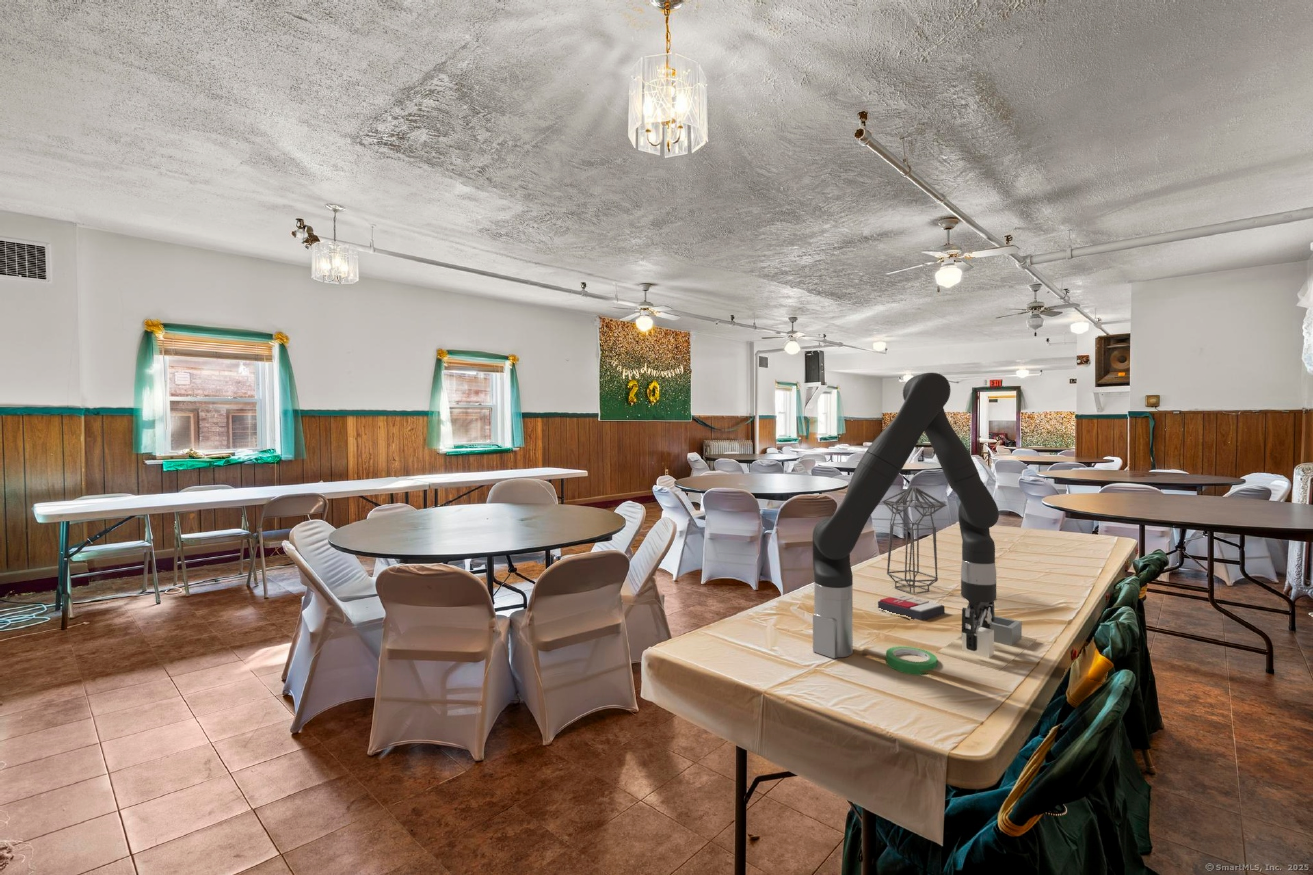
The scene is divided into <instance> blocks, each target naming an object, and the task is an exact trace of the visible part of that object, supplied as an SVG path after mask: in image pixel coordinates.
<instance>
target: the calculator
mask: <svg viewBox="0 0 1313 875" xmlns="http://www.w3.org/2000/svg"><path fill="white" fill-rule="evenodd" d="M877 608H881V609H883V610H887V611H889V612H892V613H896V614H900V615H906V616H908V617H911V619H913V620H912V621H914V620H915V619H916V620H919V621H922V622H923V621H927V620H929V619H932V618H936V617H939V616H943V615H945V614H946V613H945V612H946V611H945V605H943V604H941V603H937V602H933V601H930V600H926V599H923V598H918V597H913V596H909V595H905V594H898V595H893V596H889V597H886V598H885V597H884V598H880V600H878V601H877Z"/></svg>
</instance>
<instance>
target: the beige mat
mask: <svg viewBox="0 0 1313 875" xmlns="http://www.w3.org/2000/svg"><path fill="white" fill-rule="evenodd" d="M1036 641H1037V638H1034V637H1033V638H1032V637H1028V636H1024V635H1022V639H1021V640H1019V641H1018V642H1017V643H1015V644H1014V645H1013V646H1008V645H1004V644H1000V643H996V642H994V655H993V656H991V657H990V658H986V657H982V656H978V655H975V654H971V653H967V652H964V651H962V635H961V636H960V637H958V638H956V639H955V640H953V641H952V642H950V643H949V644H947V645H945V646H944V647H942V648H941V649H939V650H938V651H936V652H935V653H936V654H940V655H944V656H947V657H950V658H954V659H958V660H961V661H965V662H968V663H972V664H976V665H978V666H981V667H985V668H988V669H992V670H996V671H998V672H999V671H1001V670H1002V669H1003V668H1004V667H1005V666H1007V665H1008V664H1009V663H1011V662H1012V661H1013V660H1014V659H1015V658H1016V657H1018V656H1019V655H1020V654H1021V653H1022V652H1023V651H1025V650H1026V649H1027V648H1028V647H1030V646H1031V645H1033V643H1034V642H1036Z"/></svg>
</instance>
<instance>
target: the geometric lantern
mask: <svg viewBox="0 0 1313 875" xmlns="http://www.w3.org/2000/svg"><path fill="white" fill-rule="evenodd" d="M900 495H901V496H900ZM897 496H900V497H898V498H896V497H897ZM913 496H914V498H913ZM919 497H920V498H919ZM893 498H896V500H895V501H893V500H892V501H890V500H891V499H893ZM929 498H930V499H931V500H933V501H934V502H937V503H933V502H932V501H931V500H930V499H929ZM908 499H909V500H908ZM920 499H921V500H920ZM913 502H914V505H913V506H912V505H911V504H912V503H913ZM916 502H917V503H918V504H917V505H916ZM881 503H883V504H884V505H885V506H886V507H887V509H888V510H890V512H891V518H890V522H889V536H888V537H889V538H888V551H887V552H888V554H887V568H886V570H887V571H886V575H887V576H889V578H891V580H892V581H893V582H894V589H895V590H898V589H900V590H899V591H901V590H902V591H901V592H904V591H905V592H904V593H906V594H909V593H917V594H922V593H928V592H930V586H932V585H933V584H935V583H937V582H938V581H939V579H938V557H937V555H938V552H937V548H938V547H937V526H935V524H934V519H933V515H935V513H936V512H938V511H939V510H941V509H943V508H944V507H947V504H946V503H944V502H942V501H940V500H939V499H937V498H935V497H934V496H932V495H930V494H929V493H927V492H925V491H924V490H922V489H920V488H919V487H916V486H915V487H914V486H910V487H909V488H907V489H905V490H903V491H900V492H898V493H897V494H894V495H892V496H890V497H888V498H885V499H882V500H881ZM906 503H907V504H906ZM924 505H926V506H924ZM899 508H901V509H899ZM908 508H914V509H915V510H916V511H917V512H918V513H919V514H920V515H919V517H918V518H917V519H916V520H915V522H913V521H912V520H911V519H910V517H909V516H908V514H907V512H906V511H905V510H907V509H908ZM919 508H920V509H922V512H921V511H920V510H919ZM932 509H933V511H932ZM894 510H895V511H894ZM901 513H904V514H905V516H906V517H907V518H908V520H909V521H910V522H906V521H905V519H904V518H903V516H902V514H901ZM927 513H928V514H927ZM896 515H899V517H900V519H901V521H902V522H897V523H895V521H896ZM928 516H929V517H930V520H931V525H928V524H923V523H921V522H922V520H924V518H925V517H928ZM910 524H911V527H909V526H908V525H910ZM900 525H904V526H900ZM915 525H916V528H914V526H915ZM920 526H923V528H919V527H920ZM894 527H897V528H901V529H905V530H906V533H905V553H904V554H905V556H904V557H905V558H904V560H905V561H904V570H896V571H895V570H894V571H890V567H891V566H890V565H891V556H892V555H891V554H892V545H893V537H894V536H893V534H894ZM926 527H927V528H926ZM909 530H911V531H910V532H911V534H910V547H909V549H910V550H909V561H908V544H909V543H908V541H909ZM919 530H932V540H933V541H932V542H933V556H934V558H933V559H934V572H935V575H931V574H928V573H925V572H921V571H920V568H919V567H920V559H919V558H920V556H919V555H920V554H919V553H920V552H919V551H920V542H919V541H920V536H919V534H920V531H919ZM914 531H916V560H915V532H914ZM915 561H916V563H915ZM908 562H909V563H908ZM915 564H916V565H915ZM908 565H909V566H908ZM911 566H912V569H911ZM896 573H897V574H899V573H904V578H901V577H899V576H897V575H894V574H896ZM911 573H912V576H913V577H912V576H911ZM907 574H909V578H907ZM918 574H920V575H923V576H927V577H929V578H931V579H916V578H917V577H918V576H917V575H918ZM932 578H933V579H932ZM896 579H898V580H896ZM902 582H906V584H905V583H902ZM927 582H929V583H927ZM916 583H919V584H923V585H916ZM897 584H899V585H897ZM902 587H908V588H909V591H907V590H904V589H901V588H902ZM924 587H927V588H924ZM915 588H919V589H923V591H916V590H915ZM912 589H913V591H912ZM915 591H916V592H915Z"/></svg>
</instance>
